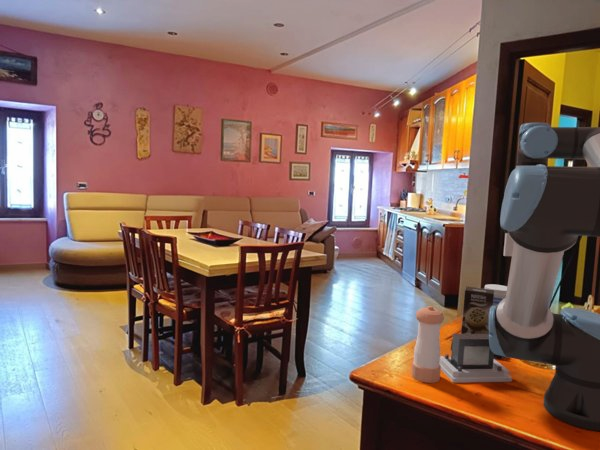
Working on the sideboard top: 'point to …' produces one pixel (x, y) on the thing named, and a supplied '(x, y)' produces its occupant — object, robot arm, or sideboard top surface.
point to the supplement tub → (497, 292)
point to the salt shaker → (427, 346)
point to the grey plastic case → (471, 351)
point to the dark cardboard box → (476, 310)
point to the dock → (474, 372)
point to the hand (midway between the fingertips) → (522, 260)
